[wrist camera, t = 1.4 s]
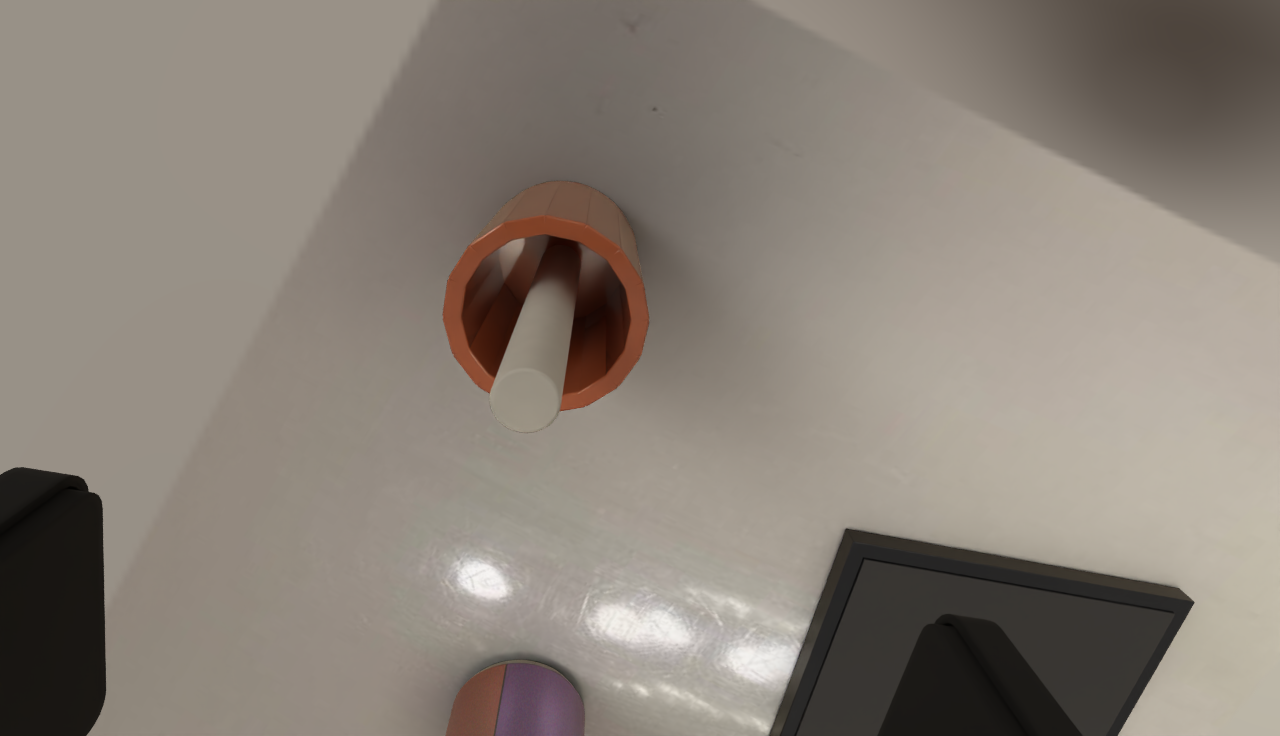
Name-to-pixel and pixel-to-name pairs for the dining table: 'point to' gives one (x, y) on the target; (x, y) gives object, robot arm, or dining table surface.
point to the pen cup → (506, 266)
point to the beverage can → (517, 703)
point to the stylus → (539, 346)
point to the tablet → (986, 589)
